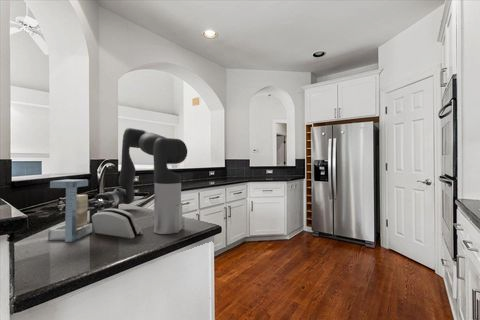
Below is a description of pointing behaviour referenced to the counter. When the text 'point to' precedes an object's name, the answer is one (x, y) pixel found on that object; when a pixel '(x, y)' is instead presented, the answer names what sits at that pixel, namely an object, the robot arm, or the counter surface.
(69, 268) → the counter surface
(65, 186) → the grey i-shaped block
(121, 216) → the gray curved wedge
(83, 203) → the link
